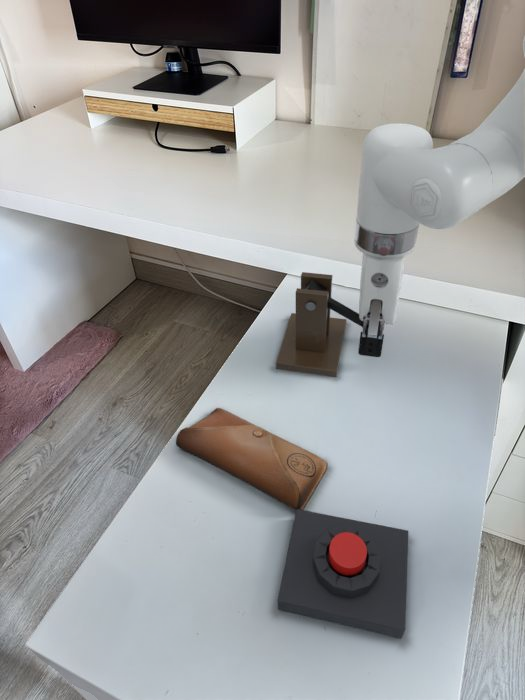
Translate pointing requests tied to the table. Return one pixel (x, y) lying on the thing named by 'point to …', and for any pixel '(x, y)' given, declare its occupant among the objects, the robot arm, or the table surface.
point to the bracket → (312, 332)
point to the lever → (337, 304)
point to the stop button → (347, 553)
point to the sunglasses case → (255, 457)
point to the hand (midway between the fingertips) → (371, 340)
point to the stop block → (346, 591)
